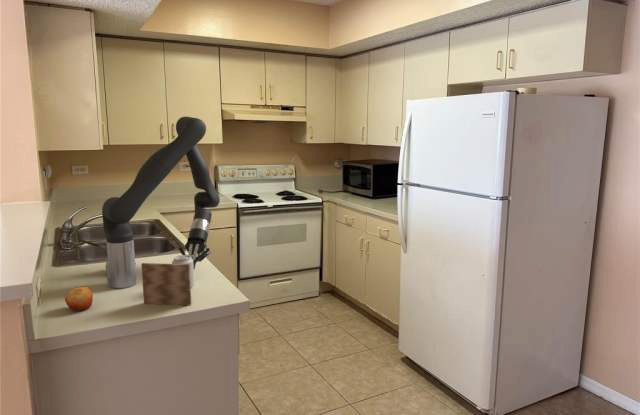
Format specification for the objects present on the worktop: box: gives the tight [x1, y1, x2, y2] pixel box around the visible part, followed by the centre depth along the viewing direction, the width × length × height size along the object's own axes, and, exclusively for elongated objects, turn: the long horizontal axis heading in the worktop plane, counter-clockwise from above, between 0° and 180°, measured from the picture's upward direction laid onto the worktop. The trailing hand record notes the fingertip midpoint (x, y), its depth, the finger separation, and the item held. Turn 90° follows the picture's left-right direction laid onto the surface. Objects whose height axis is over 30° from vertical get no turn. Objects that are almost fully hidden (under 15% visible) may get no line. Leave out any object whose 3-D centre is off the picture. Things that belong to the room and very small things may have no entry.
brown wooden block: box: [141, 262, 192, 306], centre depth 153 cm, size 16×6×14 cm, turn 87°
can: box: [171, 254, 195, 289], centre depth 166 cm, size 8×8×12 cm
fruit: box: [64, 286, 94, 311], centre depth 148 cm, size 8×8×8 cm
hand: (190, 270), depth 174 cm, fingers closed
